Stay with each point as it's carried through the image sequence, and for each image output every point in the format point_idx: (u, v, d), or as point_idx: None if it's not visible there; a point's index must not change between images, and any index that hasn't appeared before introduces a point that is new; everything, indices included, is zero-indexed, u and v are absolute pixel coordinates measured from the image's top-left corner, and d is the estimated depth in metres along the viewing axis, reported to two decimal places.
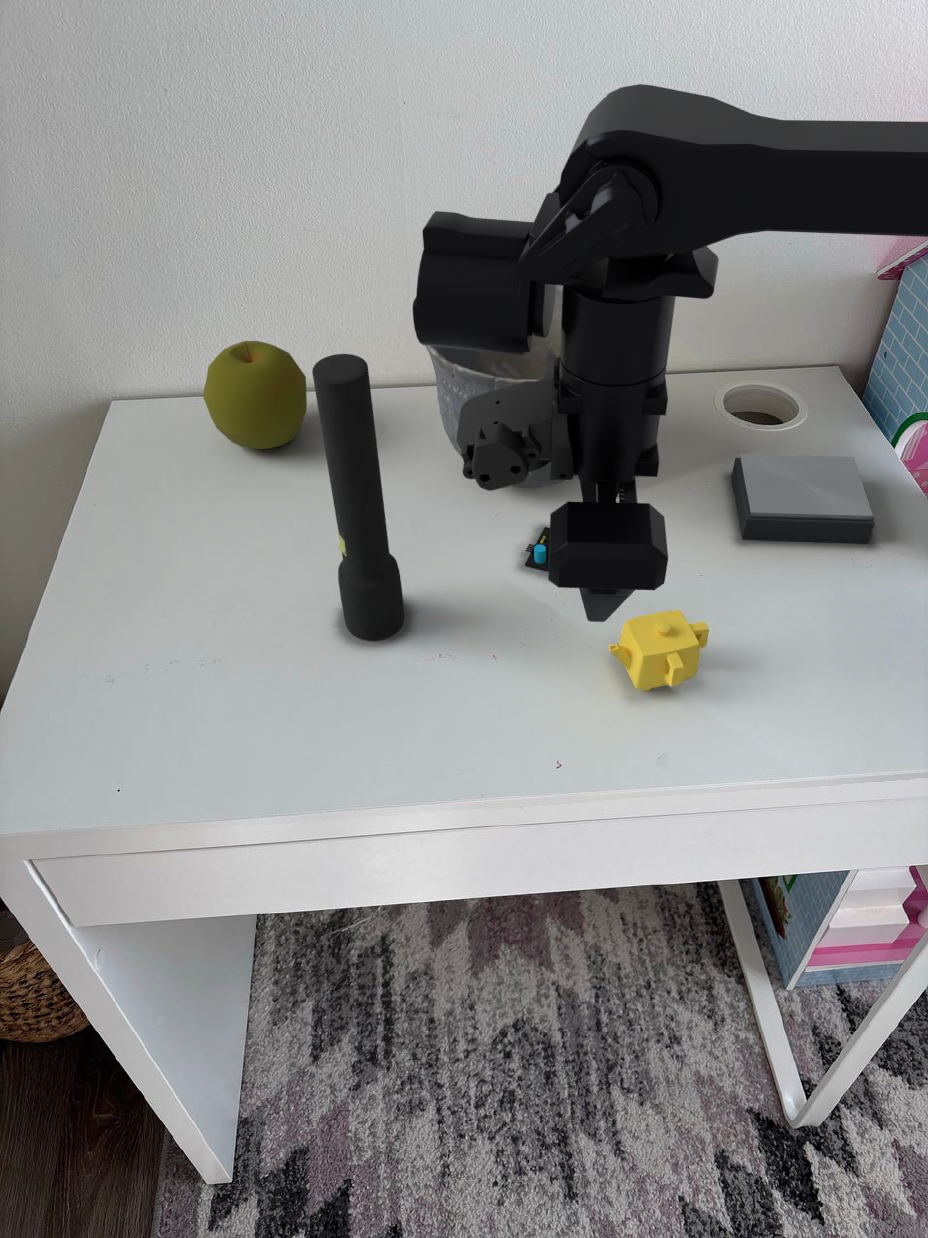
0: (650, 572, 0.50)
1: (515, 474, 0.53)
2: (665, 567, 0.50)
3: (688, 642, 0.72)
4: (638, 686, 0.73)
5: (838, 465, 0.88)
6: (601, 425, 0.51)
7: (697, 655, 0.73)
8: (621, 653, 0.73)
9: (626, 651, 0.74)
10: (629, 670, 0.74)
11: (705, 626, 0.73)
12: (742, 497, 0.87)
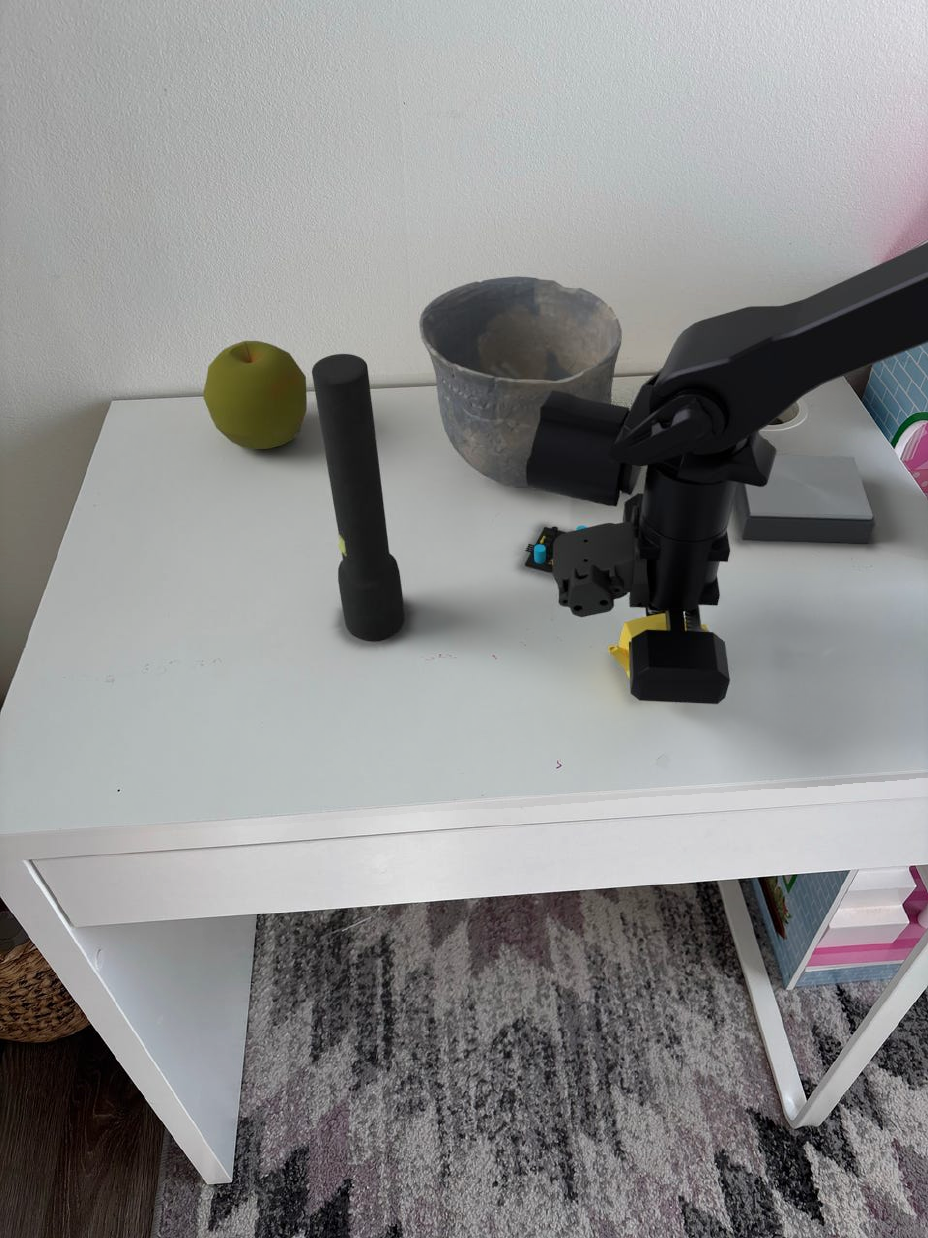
0: (715, 691, 0.62)
1: (603, 606, 0.64)
2: (727, 686, 0.62)
3: None
4: None
5: (838, 465, 0.88)
6: (675, 569, 0.63)
7: None
8: (620, 654, 0.73)
9: (625, 652, 0.73)
10: (628, 671, 0.74)
11: (705, 628, 0.73)
12: (742, 497, 0.87)
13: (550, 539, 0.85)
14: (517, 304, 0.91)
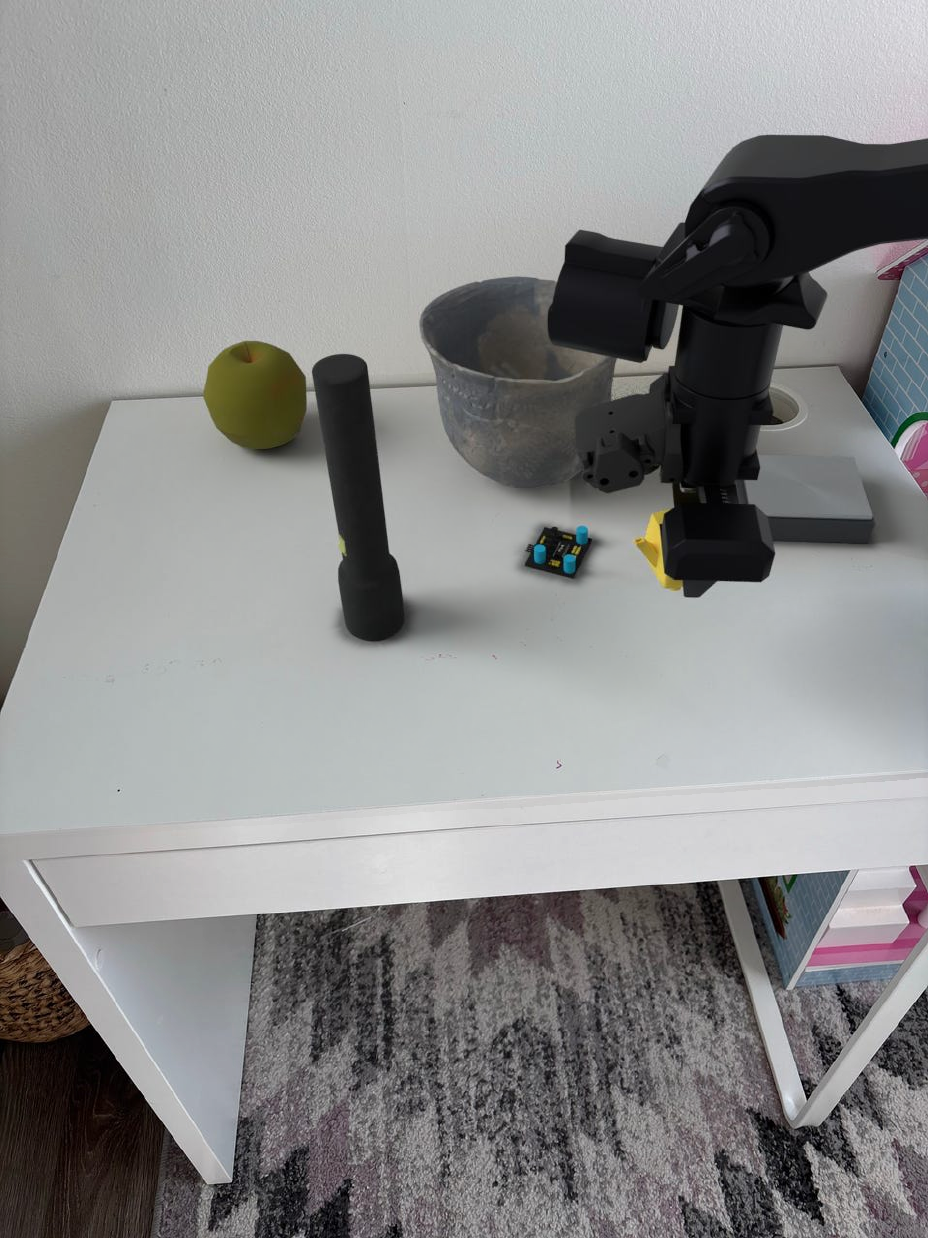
0: (758, 565, 0.56)
1: (632, 478, 0.58)
2: (772, 561, 0.56)
3: None
4: (665, 585, 0.67)
5: (838, 465, 0.88)
6: (712, 435, 0.57)
7: None
8: (647, 547, 0.66)
9: (653, 546, 0.67)
10: (656, 568, 0.68)
11: None
12: (742, 497, 0.87)
13: (550, 539, 0.85)
14: (517, 304, 0.91)
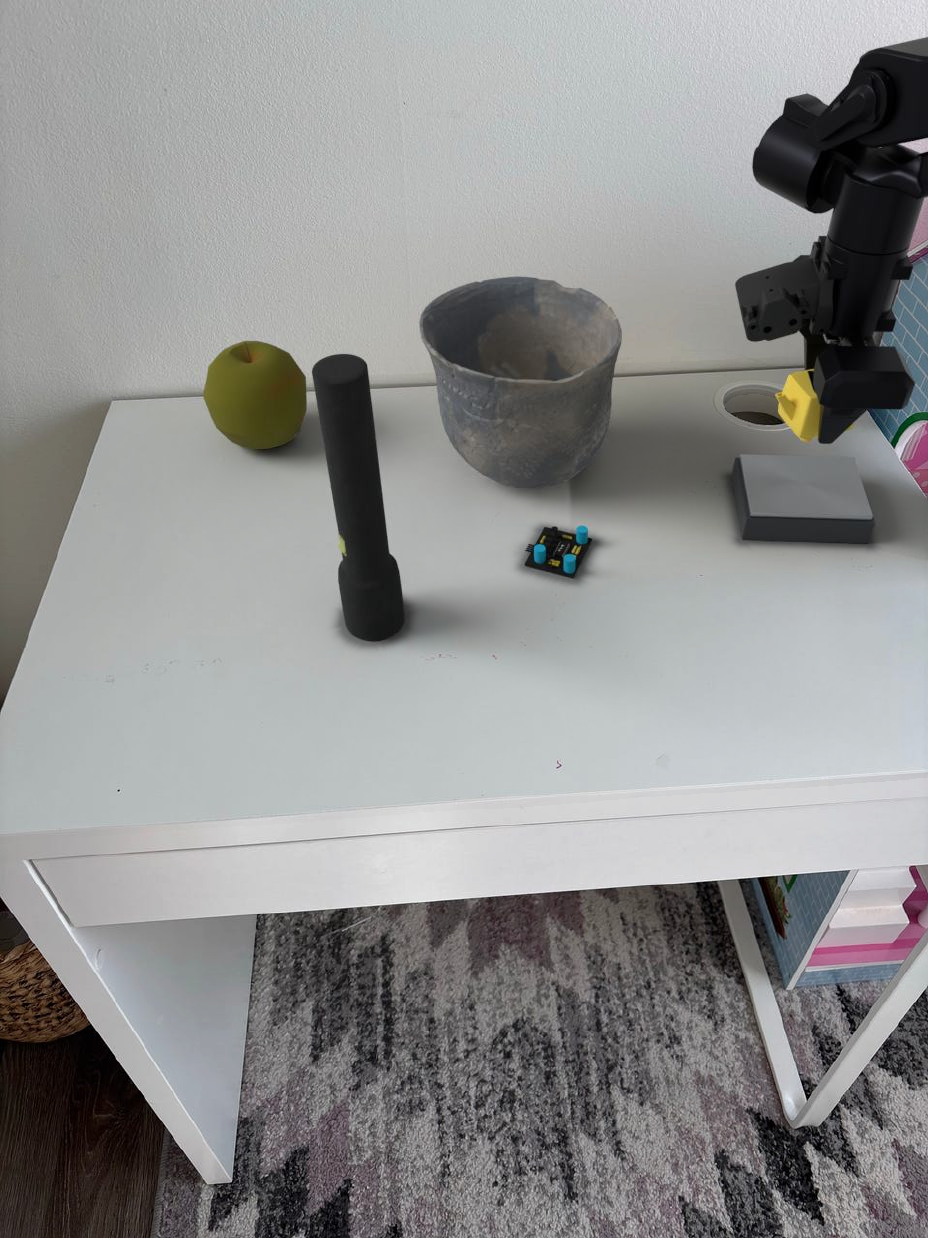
0: (901, 393, 0.68)
1: (791, 326, 0.70)
2: (911, 390, 0.68)
3: None
4: (801, 434, 0.79)
5: (838, 465, 0.88)
6: (860, 288, 0.69)
7: None
8: (787, 400, 0.78)
9: (790, 401, 0.79)
10: (791, 421, 0.80)
11: None
12: (742, 497, 0.87)
13: (550, 539, 0.85)
14: (517, 304, 0.91)
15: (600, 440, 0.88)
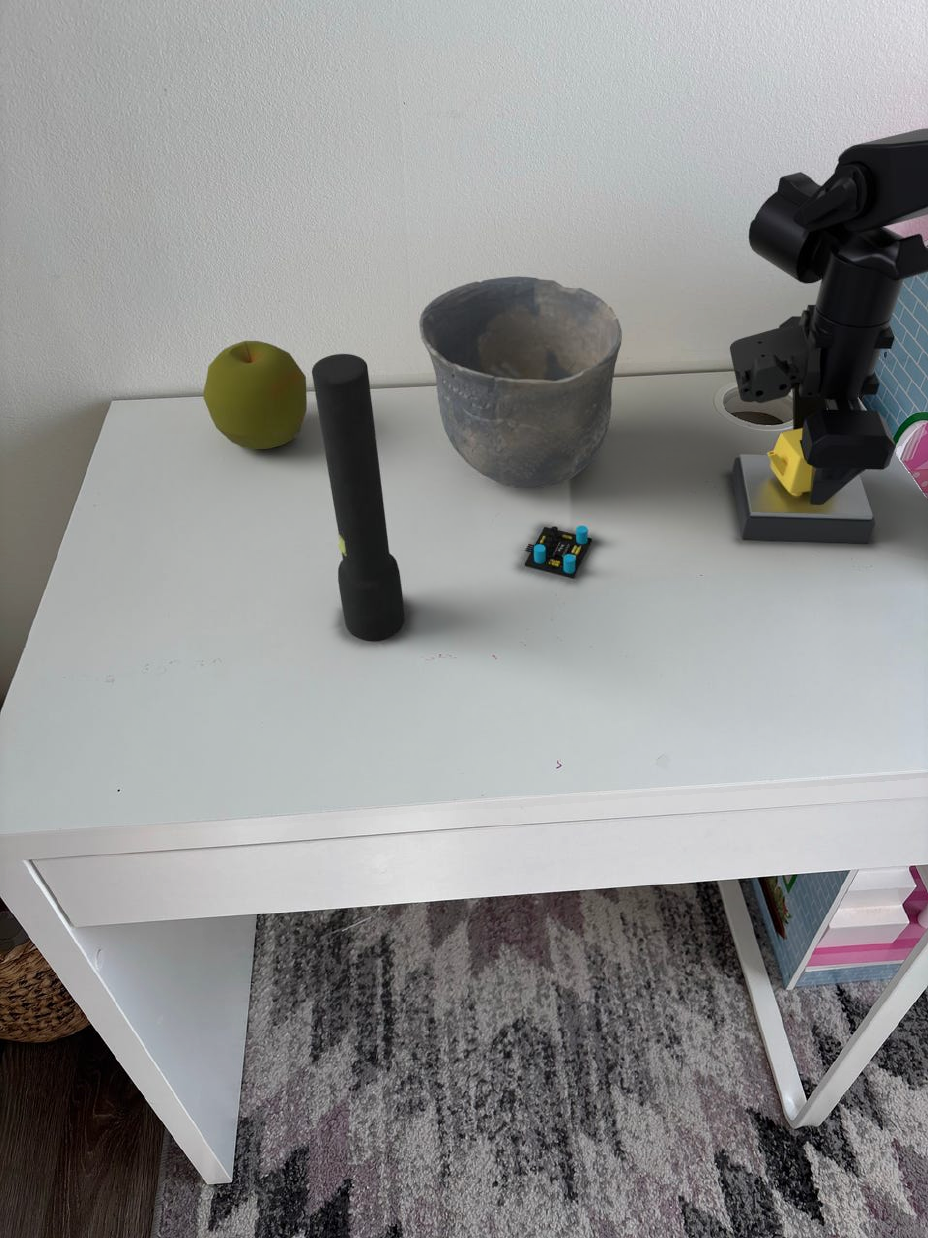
0: (883, 455, 0.73)
1: (781, 390, 0.75)
2: (892, 453, 0.73)
3: None
4: (791, 489, 0.84)
5: None
6: (845, 356, 0.74)
7: None
8: (778, 458, 0.84)
9: (781, 459, 0.84)
10: (783, 477, 0.85)
11: None
12: (742, 497, 0.87)
13: (550, 539, 0.85)
14: (517, 304, 0.91)
15: (600, 440, 0.88)
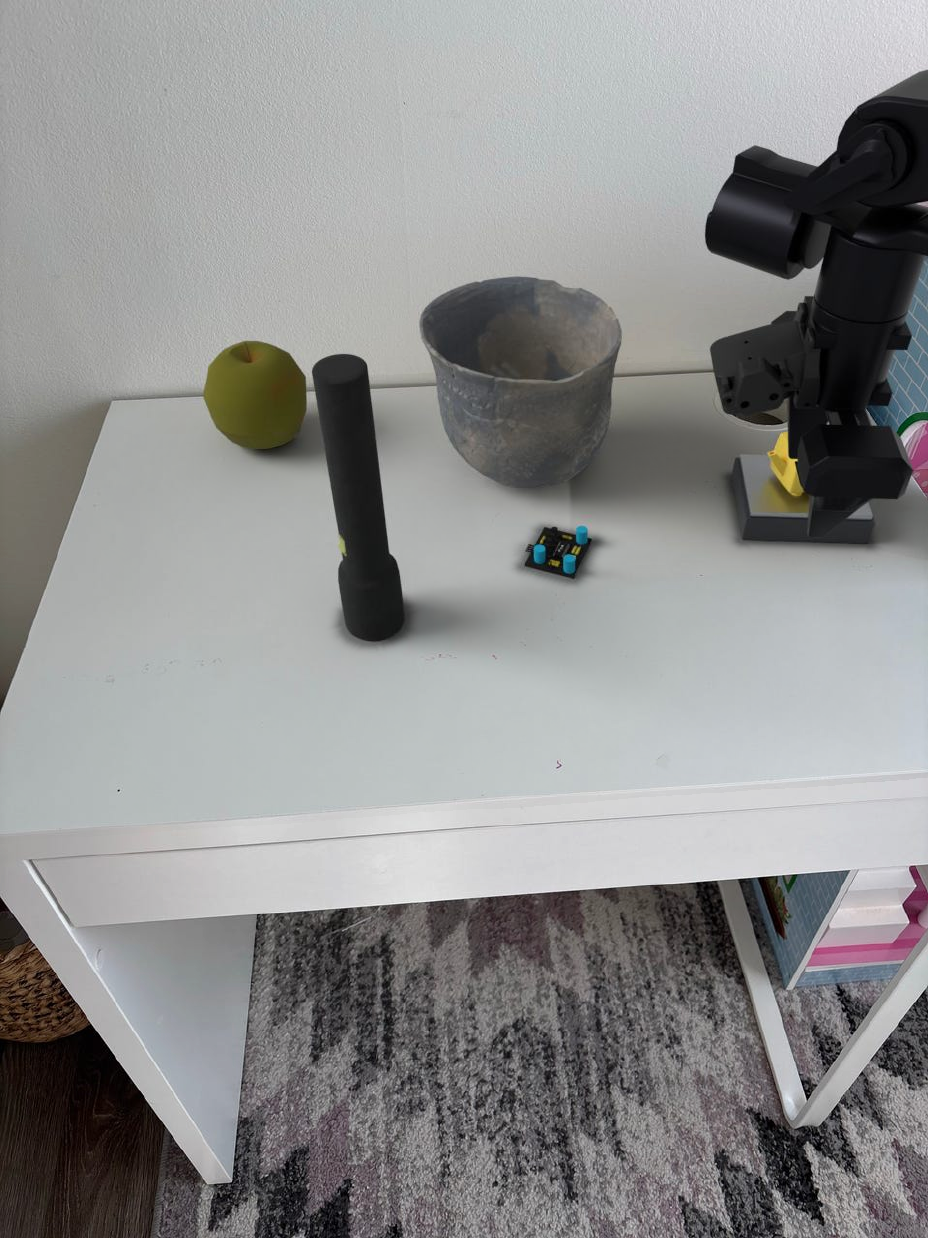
0: (897, 482, 0.59)
1: (772, 401, 0.61)
2: (909, 479, 0.59)
3: None
4: (791, 489, 0.84)
5: None
6: (851, 359, 0.60)
7: None
8: (778, 458, 0.84)
9: (781, 459, 0.84)
10: (783, 477, 0.85)
11: None
12: (742, 497, 0.87)
13: (550, 539, 0.85)
14: (517, 304, 0.91)
15: (600, 440, 0.88)
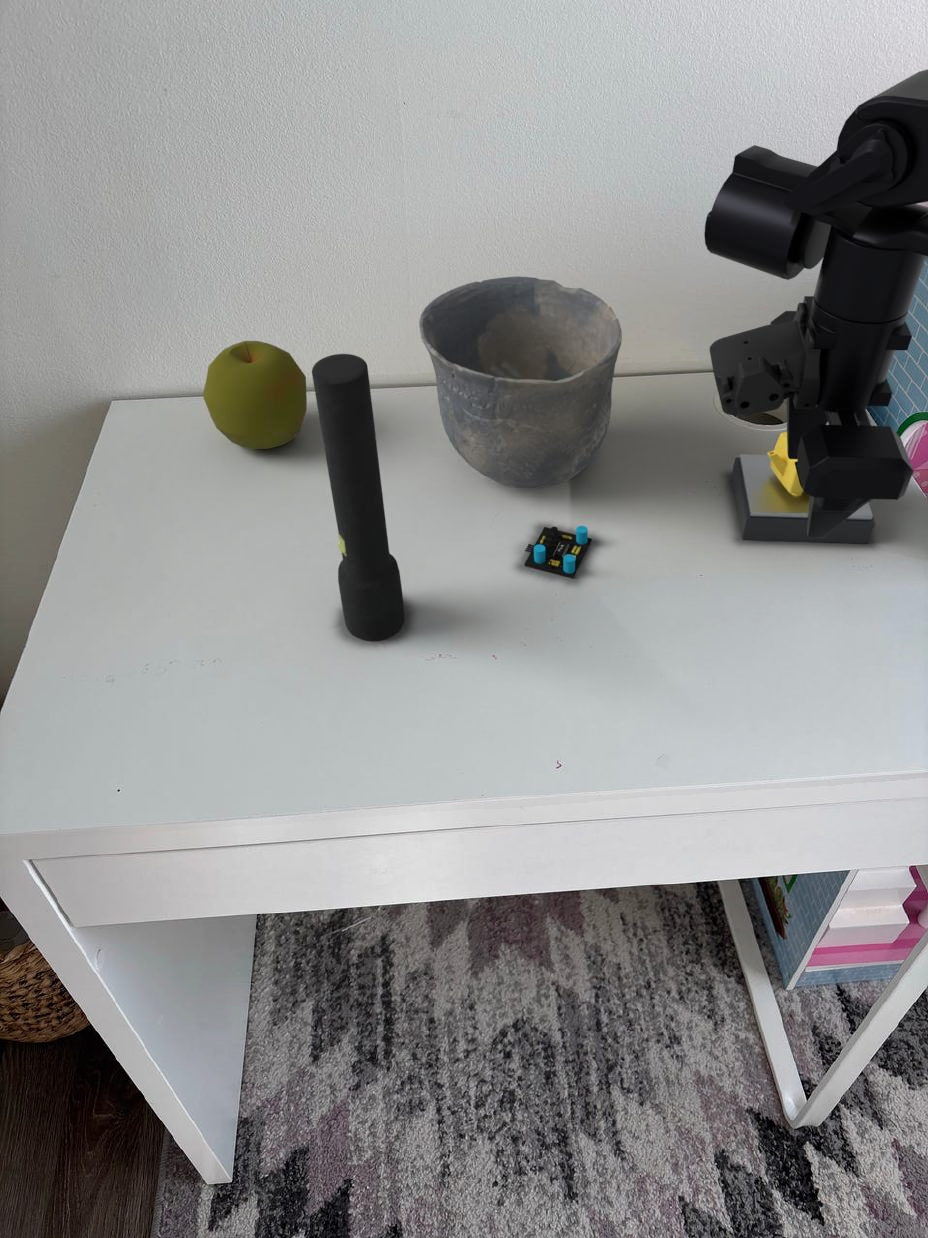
0: (897, 482, 0.59)
1: (772, 401, 0.61)
2: (909, 479, 0.59)
3: None
4: (791, 489, 0.84)
5: None
6: (850, 359, 0.60)
7: None
8: (778, 458, 0.84)
9: (781, 459, 0.84)
10: (783, 477, 0.85)
11: None
12: (742, 497, 0.87)
13: (550, 539, 0.85)
14: (517, 304, 0.91)
15: (600, 440, 0.88)
